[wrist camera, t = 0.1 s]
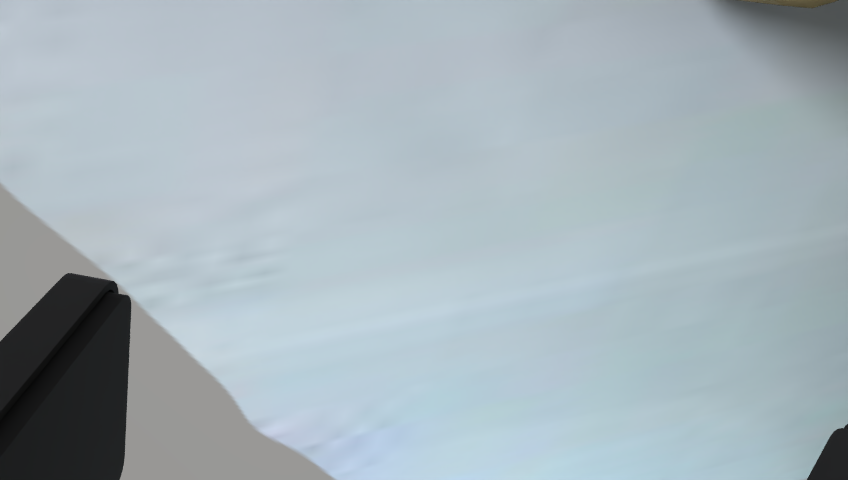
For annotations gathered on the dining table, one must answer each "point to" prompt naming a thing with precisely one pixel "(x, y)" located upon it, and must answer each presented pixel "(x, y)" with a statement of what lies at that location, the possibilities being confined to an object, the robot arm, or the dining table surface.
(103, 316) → the robot arm
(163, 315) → the dining table surface
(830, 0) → the squeeze bottle
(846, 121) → the dining table surface
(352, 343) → the dining table surface
